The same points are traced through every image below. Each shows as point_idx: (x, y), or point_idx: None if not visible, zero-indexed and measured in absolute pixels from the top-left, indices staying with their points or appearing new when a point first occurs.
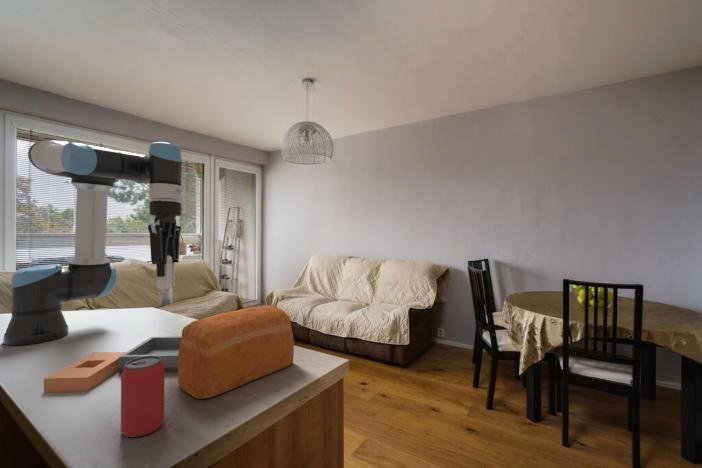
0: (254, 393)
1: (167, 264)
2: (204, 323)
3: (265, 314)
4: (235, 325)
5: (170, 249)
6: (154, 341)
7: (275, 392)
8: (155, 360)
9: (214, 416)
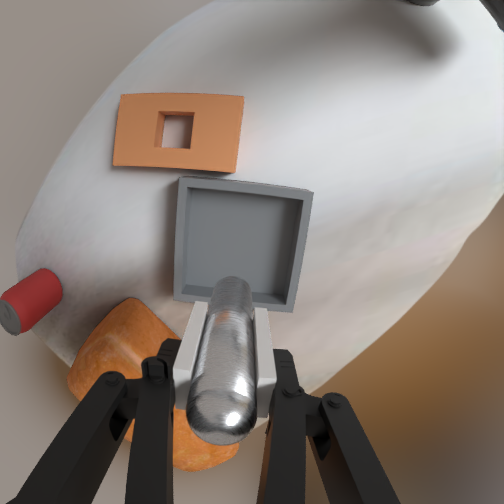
0: None
1: (181, 408)
2: (78, 392)
3: None
4: None
5: (262, 472)
6: (301, 202)
7: None
8: (16, 328)
9: (73, 345)
